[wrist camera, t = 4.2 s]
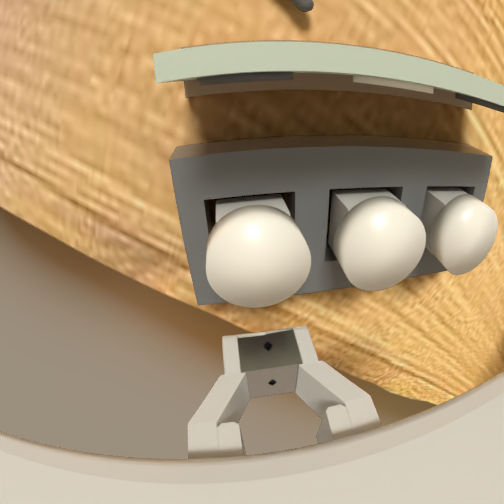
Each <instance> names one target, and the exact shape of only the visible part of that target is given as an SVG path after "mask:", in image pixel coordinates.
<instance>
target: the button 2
mask: <svg viewBox="0 0 504 504" xmlns="http://www.w3.org/2000/svg"><path fill="white" fill-rule="evenodd" d="M420 221H421V222H422V224H423V226H424V229H425V233H426V244H425V247H426V248H427V250H428V251H429V252H430V253H431V254H434V256H435V257H436V258H437V259H438V260H439V261H440V262H441V263H442V264H443V266H444V267H445V268H446V269H447V270H448V271H449V272H450V273H452V274H455V275H461V274H465V273H467V272H469V271H471V270H472V269H474V268H475V267H476V266H478V265H479V264H480V263H481V262H482V261H483V259H484V258H485V257H486V256H487V254H488V253H489V251H490V249H491V247H492V245H493V243H494V240H495V237H496V234H497V227H498V222H497V217H496V214H495V212H494V211H493V210H492V209H491V208H490V207H489V206H487V205H486V204H484V203H483V202H482V201H480V200H479V199H478V198H476V197H475V196H473V195H470V194H468V193H466V192H465V191H463V190H462V189H460V188H450V187H430V188H427V190H426V195H425V200H424V206H423V211H422V215H421V220H420Z"/></svg>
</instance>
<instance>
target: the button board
mask: <svg viewBox="0 0 504 504" xmlns="http://www.w3.org/2000/svg"><path fill="white" fill-rule="evenodd" d="M169 162H170V168H171V174H172V180H173V186H174V192H175V198H176V203H177V208H178V214H179V219H180V224H181V229H182V234H183V239H184V244H185V249H186V254H187V259H188V263H189V268H190V273H191V277H192V281H193V286H194V290H195V295H196V299H197V303H198V305H206V304H217V303H227V302H228V301H226V300H224V299H223V298H221V297H220V296H219V295H218V294H217V293H216V292H215V291H214V290H213V289H212V287H211V286H210V284H209V282H208V279H207V275H206V251H207V241H208V237H209V234H210V232H211V230H212V224H211V217H210V209H209V202H208V199H217V198H226V197H236V196H247V195H257V194H269V193H281V192H285V204H286V206H287V208H288V210H289V212H290V216H291V217H292V218H293V219H294V221H295V222H296V223H297V225H298V227H299V228H300V231H301V233H302V235H303V237H304V239H305V241H306V243H307V245H308V248H309V250H310V254H311V268H310V271H309V275H308V277H307V279H306V281H305V282H304V284H303V285H302V286H301V288H300V289H299V290H298V291H297V292H296V293H294V294H293V295H297V294H305V293H312V292H320V291H327V290H334V289H341V288H348V287H354V285H353V284H352V283H351V282H350V281H349V280H348V278H347V276H346V274H345V273H344V271H343V269H342V267H341V265H340V264H339V262H338V260H337V258H336V256H335V254H334V253H333V251H332V249H331V247H330V246H329V244H328V239H329V237H326V236H327V223H328V208H329V191H330V189H344V188H368V187H380V188H385V189H387V190H388V191H389V192H390V193H391V194H393V195H394V196H395V197H396V198H397V199H399V200H400V201H401V202H402V203H403V204H404V205H406V207H407V208H408V209H409V210H410V211H411V212H412V213H413V214H414V215H416V216H417V217H418V218H419V219H420V220H421V215H422V211H423V206H424V200H425V195H426V190H427V186H449V187H450V188H460V189H462V190H463V191H465V192H466V193H468V194H470V195H473V196H475V197H476V198H478V199H479V200H480V201H482V202H483V200H484V196H485V192H486V187H487V183H488V178H489V173H490V168H491V162H492V156H491V155H489V154H487V153H485V152H483V151H481V150H479V149H477V148H475V147H472V146H470V145H468V144H462V143H454V142H446V141H437V140H427V139H416V138H402V137H385V136H358V135H309V136H281V137H264V138H250V139H238V140H227V141H217V142H208V143H200V144H192V145H185V146H177V147H176V149H175V150H174V152H173V154H172V156H171V157H170V159H169ZM442 271H447V269H446V268H445V267H444V266H443V264H442V263H441V262H440V261H439V260H438V259H437V258H436V257H435V256H434V254H431V253H430V252H429V251H428V250H427V248H426V247H425V249H424V252H423V255H422V257H421V259H420V261H419V263H418V264H417V266H416V267H415V268H414V270H413V271H412V272H411V273H410V274H409V275H408V276H407V277H406V278H409V277H415V276H420V275H426V274H431V273H437V272H442Z"/></svg>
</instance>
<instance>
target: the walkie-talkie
mask: <svg viewBox="0 0 504 504" xmlns="http://www.w3.org/2000/svg"><path fill="white" fill-rule="evenodd" d="M291 1H292V2H293V3H294V5H295V6H296V7H297V8H298V9H299V10H300V11H303V12H308V11H310V10H312V9H313V6H314V3H313V1H312V0H291Z"/></svg>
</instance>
